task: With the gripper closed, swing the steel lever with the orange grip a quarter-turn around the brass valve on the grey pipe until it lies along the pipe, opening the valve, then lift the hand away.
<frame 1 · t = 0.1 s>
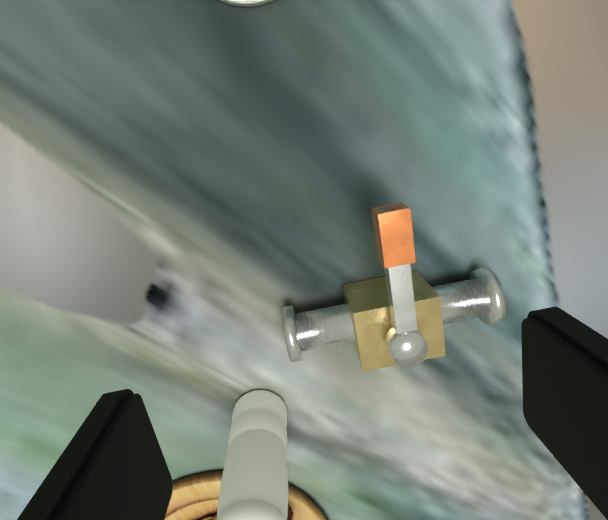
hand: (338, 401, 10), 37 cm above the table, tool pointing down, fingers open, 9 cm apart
valve pipe: (382, 303, 49), on the table
valve lever: (399, 289, 38), point 10 cm above the table, hinge at 0.0°
water bottle: (260, 409, 53), on the table
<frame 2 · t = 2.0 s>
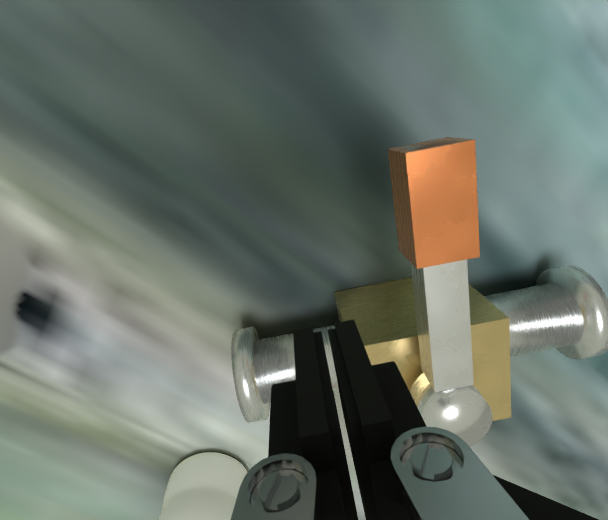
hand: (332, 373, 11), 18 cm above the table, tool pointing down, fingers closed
valve pipe: (397, 321, 31), on the table
valve lever: (440, 307, 20), point 10 cm above the table, hinge at 0.0°
water bottle: (211, 477, 36), on the table
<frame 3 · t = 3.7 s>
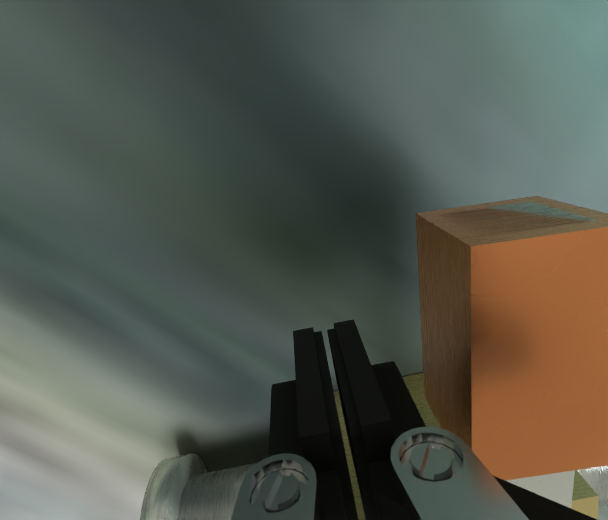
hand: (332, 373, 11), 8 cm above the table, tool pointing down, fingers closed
valve pipe: (403, 432, 22), on the table
valve lever: (501, 518, 10), point 10 cm above the table, hinge at 4.0°, touching gripper
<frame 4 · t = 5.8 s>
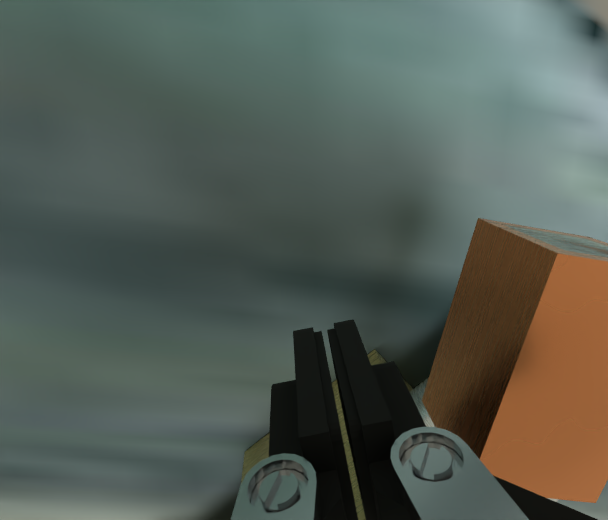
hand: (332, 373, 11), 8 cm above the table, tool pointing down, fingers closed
valve pipe: (350, 441, 22), on the table
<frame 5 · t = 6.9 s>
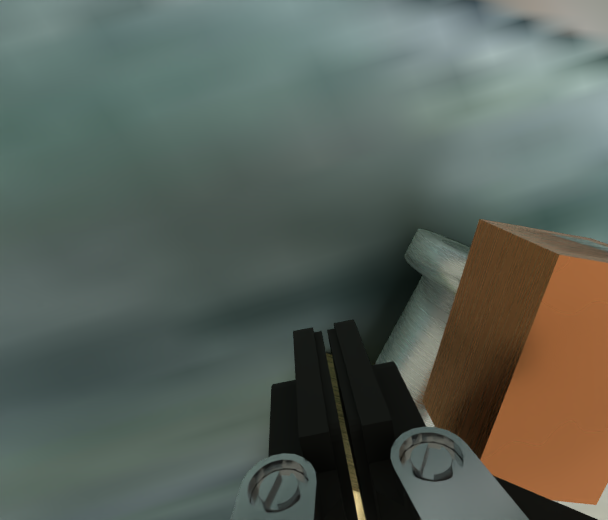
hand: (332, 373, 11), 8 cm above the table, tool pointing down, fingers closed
valve pipe: (350, 441, 22), on the table
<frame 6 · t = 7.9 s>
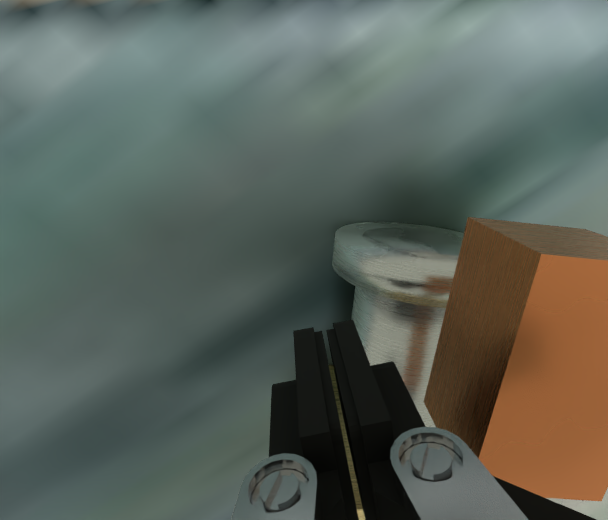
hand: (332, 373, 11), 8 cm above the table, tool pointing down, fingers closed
valve pipe: (365, 439, 22), on the table
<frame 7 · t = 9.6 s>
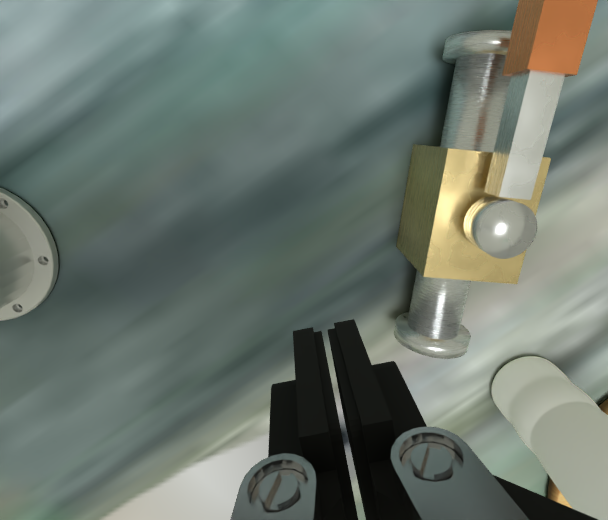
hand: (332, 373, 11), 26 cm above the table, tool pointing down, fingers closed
valve pipe: (443, 200, 35), on the table
valve lever: (523, 127, 24), point 10 cm above the table, hinge at 90.6°
water bottle: (521, 381, 42), on the table
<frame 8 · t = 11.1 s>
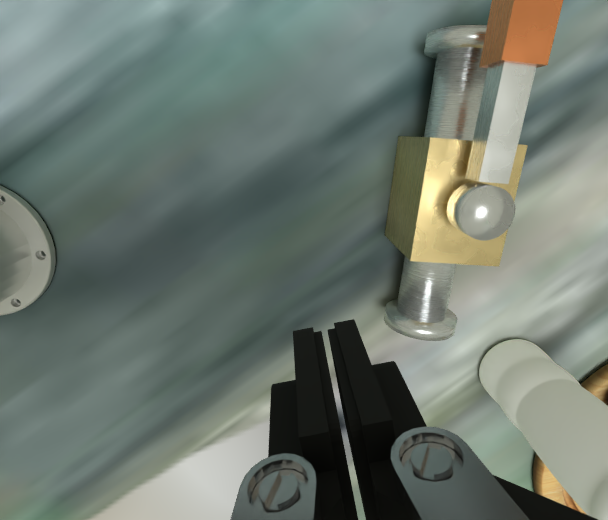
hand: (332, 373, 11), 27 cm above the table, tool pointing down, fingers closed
valve pipe: (428, 190, 37), on the table
valve lever: (500, 116, 26), point 10 cm above the table, hinge at 90.6°
water bottle: (507, 364, 43), on the table
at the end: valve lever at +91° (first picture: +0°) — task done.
